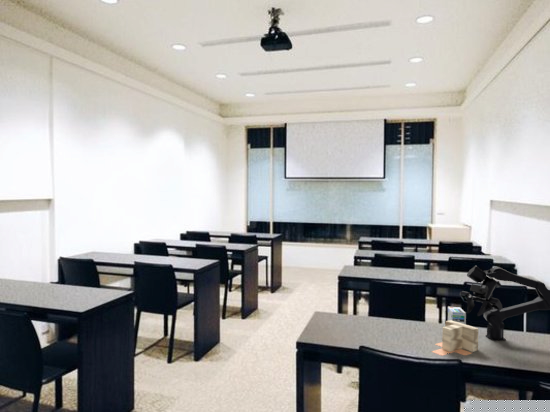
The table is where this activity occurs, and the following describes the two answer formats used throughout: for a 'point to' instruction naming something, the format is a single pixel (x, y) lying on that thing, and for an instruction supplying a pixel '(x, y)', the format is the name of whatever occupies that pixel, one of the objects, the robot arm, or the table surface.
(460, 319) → the light bulb box
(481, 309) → the robot arm
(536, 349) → the table surface
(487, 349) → the table surface
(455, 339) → the beige stepped block
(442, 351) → the t mark
